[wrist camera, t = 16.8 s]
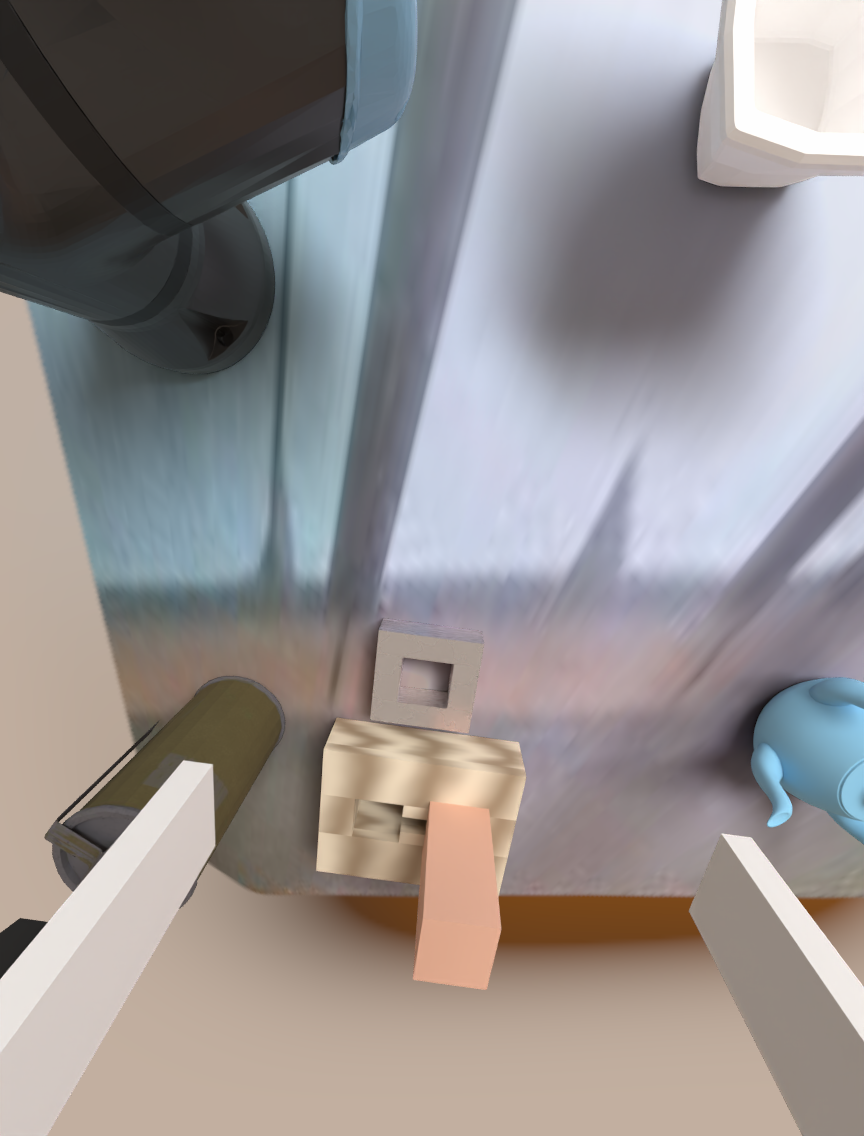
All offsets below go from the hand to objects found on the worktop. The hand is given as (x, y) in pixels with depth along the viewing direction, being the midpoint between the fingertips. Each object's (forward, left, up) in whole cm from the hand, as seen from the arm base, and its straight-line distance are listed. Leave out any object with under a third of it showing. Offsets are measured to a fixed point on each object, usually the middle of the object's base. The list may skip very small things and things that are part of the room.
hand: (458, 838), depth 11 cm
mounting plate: (0, -29, -31) cm, 42 cm away
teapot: (+38, -14, -31) cm, 51 cm away
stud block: (+4, -29, -28) cm, 40 cm away
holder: (-1, -13, -31) cm, 33 cm away
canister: (-21, -22, -31) cm, 43 cm away
